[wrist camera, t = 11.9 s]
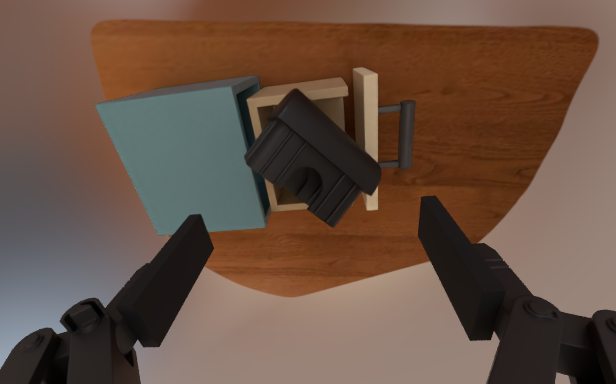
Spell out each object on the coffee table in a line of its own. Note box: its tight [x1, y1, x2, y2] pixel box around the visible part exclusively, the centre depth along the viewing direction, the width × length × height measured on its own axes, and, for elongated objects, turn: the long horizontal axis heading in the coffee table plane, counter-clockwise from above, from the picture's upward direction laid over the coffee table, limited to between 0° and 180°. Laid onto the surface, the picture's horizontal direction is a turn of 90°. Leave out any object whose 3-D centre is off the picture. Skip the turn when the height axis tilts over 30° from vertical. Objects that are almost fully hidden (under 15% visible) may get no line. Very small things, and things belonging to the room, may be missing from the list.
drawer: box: [247, 67, 415, 212], centre depth 29 cm, size 16×13×9 cm
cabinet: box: [95, 75, 271, 236], centre depth 31 cm, size 13×15×11 cm
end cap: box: [244, 88, 381, 228], centre depth 23 cm, size 10×7×7 cm
